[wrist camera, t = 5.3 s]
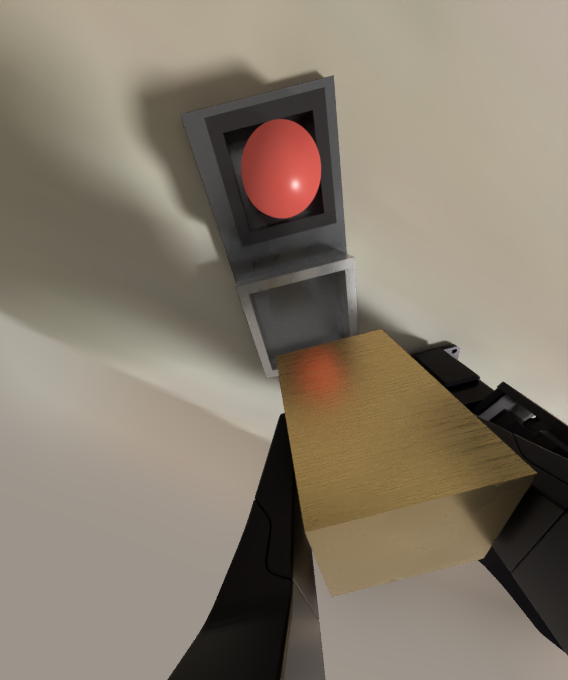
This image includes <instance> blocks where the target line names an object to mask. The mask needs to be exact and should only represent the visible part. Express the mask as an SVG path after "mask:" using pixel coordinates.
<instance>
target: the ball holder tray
mask: <svg viewBox="0 0 568 680" xmlns="http://www.w3.org/2000/svg"><path fill="white" fill-rule="evenodd" d="M181 118H182V121H183V124H184V127H185V130H186V133H187V136H188V139H189V142H190V145H191V148H192V151H193V154H194V157H195V160H196V163H197V166H198V169H199V172H200V175H201V178H202V181H203V184H204V187H205V190H206V193H207V196H208V199H209V202H210V205H211V208H212V211H213V214H214V217H215V220H216V223H217V226H218V229H219V232H220V235H221V238H222V241H223V244H224V247H225V250H226V253H227V256H228V259H229V262H230V265H231V268H232V271H233V274H234V277H235V280H236V283H237V285H236V289H237V292H238V295H239V298H240V301H241V304H242V307H243V310H244V313H245V316H246V319H247V322H248V324H249V327H250V330H251V333H252V336H253V339H254V342H255V345H256V348H257V351H258V354H259V357H260V360H261V363H262V366H263V369H264V372H265V375H266V378H271V377H275V376H279V374H278V368H277V362H276V356H278V355H282V354H286V353H289V352H293V351H297V350H301V349H305V348H309V347H313V346H317V345H321V344H325V343H329V342H333V341H336V340H340V339H344V338H348V337H352V336H356V335H358V319H357V301H356V284H355V267H354V257H352V256H350V255H348V254H347V251H346V237H345V224H344V210H343V196H342V182H341V169H340V155H339V141H338V128H337V114H336V100H335V86H334V75H333V76H329V77H325V78H321V79H318V80H314V81H310V82H306V83H302V84H298V85H294V86H290V87H286V88H282V89H278V90H275V91H271V92H267V93H263V94H259V95H255V96H251V97H247V98H243V99H239V100H235V101H232V102H228V103H224V104H220V105H216V106H212V107H208V108H204V109H200V110H196V111H192V112H188V113H185V114H181ZM275 119H286V120H290V121H293V122H295V123H297V124H299V125H300V126H302V127H303V128H304V129H305V130H306V131H307V132H308V133H309V134H310V136H311V137H312V138H313V140H314V142H315V144H316V146H317V149H318V152H319V155H320V161H321V178H320V184H319V188H318V190H317V193H316V195H315V197H314V199H313V200H312V202H311V203H310V204H309V206H308V207H307V208H306V209H305V210H303V211H302V212H301V213H299V214H297V215H295V216H292V217H289V218H275V217H271V216H269V215H266V214H264V213H262V212H261V211H259V210H258V209H257V208H256V207H255V206H254V205H253V204H252V203H251V201H250V200H249V198H248V196H247V194H246V191H245V188H244V185H243V180H242V173H241V162H242V155H243V151H244V148H245V145H246V143H247V141H248V139H249V138H250V136H251V135H252V133H253V132H254V131H255V130H256V129H257V128H258V127H259V126H261V125H262V124H264V123H266V122H268V121H271V120H275Z"/></svg>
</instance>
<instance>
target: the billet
mask: <svg viewBox="0 0 568 680" xmlns="http://www.w3.org/2000/svg"><path fill="white" fill-rule="evenodd" d="M276 362H277V368H278V374H279V380H280V386H281V392H282V398H283V404H284V410H285V416H286V422H287V428H288V434H289V440H290V446H291V452H292V458H293V464H294V470H295V476H296V482H297V488H298V494H299V500H300V506H301V512H302V518H303V524H304V530H305V534H306V536H307V539H308V541H309V544H310V546H311V549H312V551H313V553H314V556H315V558H316V560H317V563H318V566H319V568H320V571H321V573H322V575H323V578H324V580H325V583H326V585H327V588H328V590H329V593H330V595H331V597H333V596H337V595H341V594H345V593H349V592H353V591H357V590H361V589H364V588H369V587H373V586H376V585H381V584H384V583H388V582H392V581H396V580H400V579H404V578H408V577H412V576H416V575H420V574H424V573H428V572H431V571H436V570H440V569H444V568H448V567H452V566H456V565H460V564H464V563H467V562H471V561H475V560H479V559H483V558H484V557H485V555H486V554H487V552H488V551H489V549H490V548H491V546H492V544H493V543H494V541H495V540H496V538H497V537H498V535H499V533H500V532H501V530H502V529H503V527H504V526H505V524H506V522H507V521H508V519H509V518H510V516H511V515H512V513H513V511H514V510H515V508H516V507H517V505H518V503H519V502H520V500H521V499H522V497H523V496H524V494H525V492H526V491H527V489H528V488H529V486H530V485H531V483H532V481H533V480H534V478H535V477H536V475H537V474H538V473H537V472H536V471H534V470H533V469H532V468H531V467H530V466H529V465H528V464H527V463H526V462H525V461H524V460H523V459H521V458H520V457H519V456H518V455H517V454H516V453H515V452H514V451H513V450H512V449H511V448H510V447H508V446H507V445H506V444H505V443H504V442H503V441H502V440H501V439H500V438H499V437H498V436H497V435H496V434H494V433H493V432H492V431H491V430H490V429H489V428H488V427H487V426H486V425H485V424H484V423H483V422H481V421H480V420H479V419H478V418H477V417H476V416H475V415H474V414H473V413H472V412H471V411H470V410H468V409H467V408H466V407H465V406H464V405H463V404H462V403H461V402H460V401H459V400H458V399H457V398H455V397H454V396H453V395H452V394H451V393H450V392H449V391H448V390H447V389H446V388H445V387H444V386H442V385H441V384H440V383H439V382H438V381H437V380H436V379H435V378H434V377H433V376H432V375H431V374H429V373H428V372H427V371H426V370H425V369H424V368H423V367H422V366H421V365H420V364H419V363H418V362H417V361H415V360H414V359H413V358H412V357H411V356H410V355H409V354H408V353H407V352H406V351H405V350H404V349H402V348H401V347H400V346H399V345H398V344H397V343H396V342H395V341H394V340H393V339H392V338H391V337H389V336H388V335H387V334H386V333H385V332H384V331H383V330H382V329H380V330H376V331H372V332H368V333H364V334H360V335H356V336H352V337H348V338H344V339H340V340H336V341H333V342H329V343H325V344H321V345H317V346H313V347H309V348H305V349H301V350H297V351H293V352H289V353H286V354H282V355H278V356H276Z"/></svg>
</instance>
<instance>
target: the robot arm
mask: <svg viewBox="0 0 568 680" xmlns="http://www.w3.org/2000/svg"><path fill="white" fill-rule="evenodd" d="M459 351H460V348H459V347H458V346H456V345H454V344H452V345H448V346H444V347H440V348H436V349H433V350H429V351H425V352H421V353H417V354H413V355H410V356H411V357H412V358H413V359H414V360H415V361H417V362H418V363H419V364H420V365H421V366H422V367H423V368H424V369H425V370H426V371H427V372H428V373H429V374H431V375H432V376H433V377H434V378H435V379H436V380H437V381H438V382H439V383H440V384H441V385H442V386H444V387H445V388H446V389H447V390H448V391H449V392H450V393H451V394H452V395H453V396H454V397H455V398H457V399H458V400H459V401H460V402H461V403H462V404H463V405H464V406H465V407H466V408H467V409H468V410H470V411H471V412H472V413H473V414H474V415H475V416H476V417H477V418H478V419H479V420H480V421H481V422H483V423H484V424H485V425H486V426H487V427H488V428H489V429H490V430H491V431H492V432H493V433H494V434H496V435H497V436H498V437H499V438H500V439H501V440H502V441H503V442H504V443H505V444H506V445H507V446H508V447H510V448H511V449H512V450H513V451H514V452H515V453H516V454H517V455H518V456H519V457H520V458H521V459H523V460H524V461H525V462H526V463H527V464H528V465H529V466H530V467H531V468H532V469H533V470H534V471H536V472H537V473H538V474H537V475H536V477H535V478H534V480H533V481H532V483H531V485H530V486H529V488H528V489H527V491H526V492H525V494H524V496H523V497H522V499H521V500H520V502H519V503H518V505H517V507H516V508H515V510H514V511H513V513H512V515H511V516H510V518H509V519H508V521H507V522H506V524H505V526H504V527H503V529H502V530H501V532H500V533H499V535H498V537H497V538H496V540H495V541H494V543H493V544H492V546H491V548H490V549H489V551H488V552H487V554H486V555H485V557H484V558H483V559H479V560H478V561H480V562H481V563H482V564H483V565H484V566H485V567H486V568H487V569H488V570H489V571H490V572H491V574H492V575H493V576H494V577H495V578H496V579H497V580H498V581H499V582H500V583H501V584H502V586H503V587H504V588H505V589H506V590H507V592H508V593H509V594H510V595H511V597H512V598H513V599H514V600H515V602H516V603H517V604H518V605H519V607H520V608H521V609H522V610H523V612H524V613H525V614H526V616H527V617H528V618H529V619H530V621H531V622H532V623H533V624H534V626H535V627H536V628H537V629H538V630H539V632H540V633H541V634H543V635H544V636H545V637H546V638H548V639H549V640H550V641H551V642H553V643H554V644H555V645H556V646H558V647H559V648H560V649H562V650H563V651H564V652H565V653H566V654H567V655H568V425H567V424H565V423H564V422H562V421H561V420H560V419H558V418H557V417H555V416H554V415H552V414H551V413H549V412H548V411H546V410H545V409H543V408H542V407H540V406H539V405H538V404H536V403H535V402H533V401H532V400H530V399H529V398H527V397H526V396H524V395H523V394H521V393H520V392H518V391H517V390H515V389H514V388H512V387H511V386H509V385H508V384H506V383H505V382H502V383H501V384H499V385H498V386H497V387H498V388H497V389H496V390H493V389H491V388H490V387H489V386H487V385H486V384H485V383H483V382H482V381H481V380H479V379H480V377H479V375H477V374H476V373H474V372H473V371H472V370H470V369H469V368H468V367H466V366H465V365H464V364H462V363H461V362H459V361H458V356H459ZM534 415H535V416H536V417H535V418H531V417H533V416H534ZM255 499H256V500H254V502H253V505H252V508H251V512H250V515H249V518H248V520H247V524H246V526H245V529H244V532H243V535H242V537H241V540H240V542H239V545H238V548H237V550H236V553H235V555H234V557H233V560H232V562H231V565H230V567H229V570H228V572H227V574H226V577H225V579H224V582H223V584H222V587H221V589H220V591H219V594H218V596H217V599H216V601H215V603H214V606H213V608H212V610H211V612H210V614H209V616H208V618H207V620H206V622H205V624H204V626H203V627H202V629H201V631H200V632H199V634H198V635H197V637H196V639H195V640H194V641H193V643H192V644H191V646H190V648H189V649H188V650H187V652H186V653H185V655H184V656H183V658H182V659H181V661H180V662H179V664H178V665H177V667H176V668H175V670H174V671H173V673H172V674H171V675H170V677H169V678H168V680H325V671H324V662H323V652H322V643H321V633H320V623H319V621H318V620H319V614H318V604H317V595H316V586H315V576H314V566H313V557H312V549H311V546H310V544H309V541H308V539H307V536H306V534H305V530H304V524H303V518H302V512H301V506H300V500H299V494H298V488H297V482H296V476H295V470H294V464H293V458H292V452H291V446H290V440H289V434H288V428H287V422H286V416H285V413H283V414H281V415H280V417H279V420H278V423H277V426H276V430H275V433H274V436H273V439H272V443H271V446H270V449H269V453H268V456H267V459H266V462H265V466H264V469H263V472H262V476H261V479H260V483H259V485H258V489H257V492H256V495H255Z"/></svg>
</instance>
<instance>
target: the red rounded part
mask: <svg viewBox="0 0 568 680" xmlns="http://www.w3.org/2000/svg"><path fill="white" fill-rule="evenodd" d="M241 173H242V180H243V185H244V188H245V191H246V194H247V196H248V198H249V200H250V201H251V203H252V204H253V205H254V206H255V207H256V208H257V209H258V210H259V211H261V212H262V213H264V214H266V215H269V216H271V217H275V218H289V217H292V216H295V215H297V214H299V213H301V212H302V211H303V210H305V209H306V208H307V207H308V206H309V204H310V203H311V202H312V200H313V199H314V197H315V195H316V193H317V190H318V188H319V184H320V178H321V161H320V155H319V152H318V149H317V146H316V144H315V142H314V140H313V138H312V137H311V136H310V134H309V133H308V132H307V131H306V130H305V129H304V128H303V127H302V126H300V125H299V124H297V123H295V122H293V121H290V120H286V119H275V120H271V121H268V122H266V123H264V124H262V125H261V126H259V127H258V128H257V129H256V130H255V131H254V132H253V133H252V135H251V136H250V138H249V139H248V141H247V143H246V145H245V148H244V151H243V155H242V162H241Z"/></svg>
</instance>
